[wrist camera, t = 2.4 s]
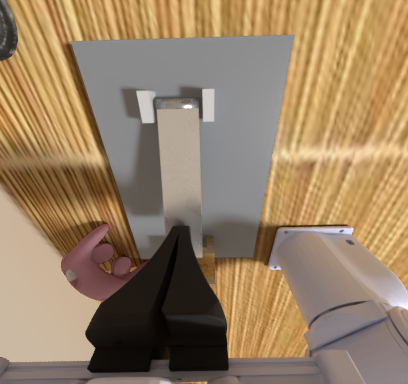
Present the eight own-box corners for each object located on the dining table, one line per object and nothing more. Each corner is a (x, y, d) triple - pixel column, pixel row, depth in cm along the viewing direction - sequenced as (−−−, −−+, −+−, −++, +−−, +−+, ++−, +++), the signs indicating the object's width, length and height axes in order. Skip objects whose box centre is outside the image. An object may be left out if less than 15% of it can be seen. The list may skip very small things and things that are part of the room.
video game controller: (93, 223, 23) (42, 272, 18) (105, 219, 20) (48, 277, 15) (144, 261, 27) (112, 309, 22) (160, 263, 24) (127, 319, 19)
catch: (213, 236, 20) (215, 270, 16) (213, 253, 21) (215, 288, 17) (168, 237, 20) (160, 271, 16) (171, 254, 21) (164, 289, 17)
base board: (284, 41, 12) (309, 23, 9) (250, 248, 23) (256, 269, 20) (84, 47, 12) (48, 31, 9) (144, 250, 23) (135, 271, 20)
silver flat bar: (198, 100, 12) (198, 95, 11) (202, 251, 15) (202, 258, 14) (159, 101, 12) (155, 96, 11) (169, 252, 15) (166, 258, 14)
